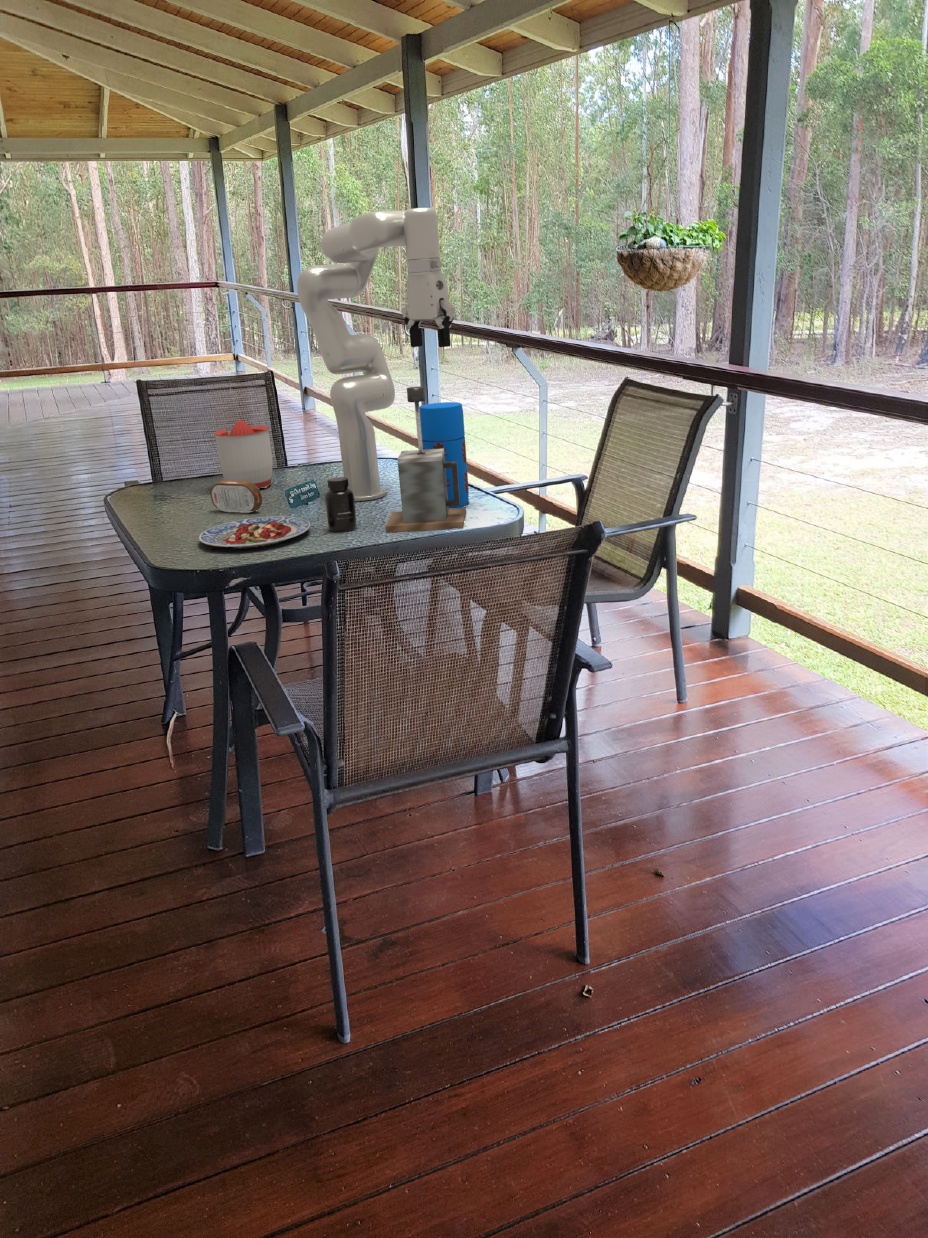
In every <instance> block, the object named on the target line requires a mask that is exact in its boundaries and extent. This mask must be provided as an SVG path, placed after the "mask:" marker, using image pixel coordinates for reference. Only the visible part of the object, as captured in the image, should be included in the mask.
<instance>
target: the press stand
mask: <svg viewBox="0 0 928 1238" xmlns="http://www.w3.org/2000/svg"><path fill="white" fill-rule="evenodd" d="M396 459H397V460H396V461H397V469H398V470H397V471H398V481H399V483H398V484H399V489H400V490H399V492H400V502H401V510H399V511H392V512H391V513H390V515H389V518H388V520H387V522H386V525H385V527H384V528H385V534H386V533H387V534H389V532H390V533H403V532H402V531H408V532H422V531H439V530H453V529H452V528H461V529H464V527H465V523H464V521H465V522H466V516H467V509H466V508H467V507H463V508H450V509H449V506H459V505H460V496H459V482H458V469H457V461H456V462H452V461H451V462H445V455H444V448H443V449H427V450H423V454H420V455H419V449H416V450H414V449H413V450H412V449H411V450H401V452H400V454H399V455H398V456H397V458H396ZM446 468H452V479H453V492H454V499H453V500H448V494H447V481H446Z"/></svg>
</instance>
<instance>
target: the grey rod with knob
mask: <svg viewBox="0 0 928 1238" xmlns="http://www.w3.org/2000/svg"><path fill="white" fill-rule="evenodd" d="M425 391H426V390H425V386H409V387H406V395H407V396H406V397H407V402H408V403H414V411H415V412H414V413H415V422H416V423H415V424H416V435H417V447H418V449H417V450H419V455H420V454H423V445H422V433H421V421H420V409H419V407H420V403H422V402H425V401H426V393H425Z"/></svg>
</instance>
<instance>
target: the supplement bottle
mask: <svg viewBox="0 0 928 1238" xmlns="http://www.w3.org/2000/svg"><path fill="white" fill-rule="evenodd" d="M348 486H349V483H348V478H345V477H344V476H343V477H341V476H339V477H332V478H331V477H330V478H329V479H327V488H328V489H329V490H327V491H326V492H325V493H324V499H325V502H324V503H325V511H326V518H327V519H326V520H327V528H328V530H329V531H330V532H333V533H344V532H350V531H353V530H356V528H357V526H358V525H357V524H358V523H357V514H356V501H354V493H353V491H352V490H351V489H349V488H348Z"/></svg>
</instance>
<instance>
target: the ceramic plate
mask: <svg viewBox="0 0 928 1238" xmlns="http://www.w3.org/2000/svg"><path fill="white" fill-rule="evenodd" d="M310 528H311V523H310V521H308V520H306V519H304V518H301V517H295V516H279V515H278V516H277V515H276V516H261V517H251V518H250V517H249V518H245V519H239V520H234V521H229V522H225V523H221V524H218V525H215V526H212V527H210V528H207V529H205V530H204V531H203V532H201V533H200V534H199V536H198V539H199V542H201V543H202V544H205V545H208V546H213V547H225V548H228V547H255V548H257V547H256V546H262V547H265V546H264V545H268V546H271V545H270V544H272V545H276V544H280V543H282V541H283V542H285V541H287V540H289V539H292V538H295V537H297V536H300V535H302V534H304V533H305V532H307V531H308V530H309V529H310ZM230 531H236V533H235V532H234V533H233V535H232V536H230V537H227V538H226V539H225V540H223V541H226V544H225V543H218V542H216V541H217V540H216V539H215V538H217V537H218V536H219V535H220V534H226V533H227V532H230ZM279 542H280V543H279ZM275 543H276V544H275Z"/></svg>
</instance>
